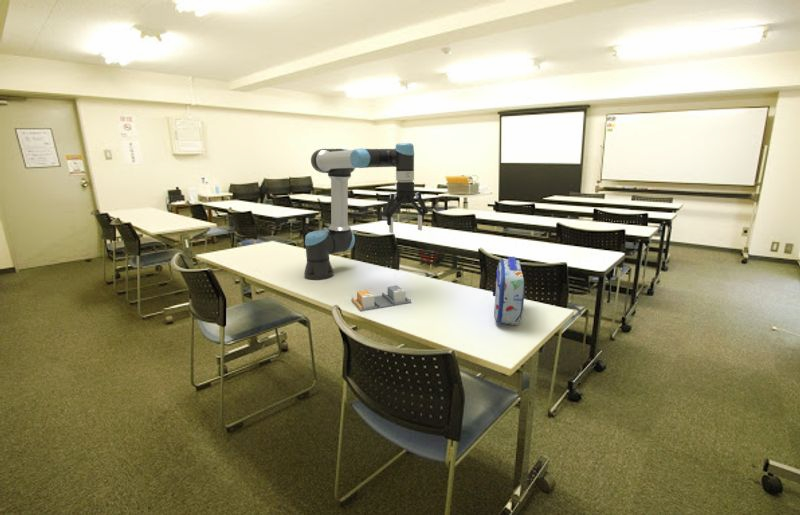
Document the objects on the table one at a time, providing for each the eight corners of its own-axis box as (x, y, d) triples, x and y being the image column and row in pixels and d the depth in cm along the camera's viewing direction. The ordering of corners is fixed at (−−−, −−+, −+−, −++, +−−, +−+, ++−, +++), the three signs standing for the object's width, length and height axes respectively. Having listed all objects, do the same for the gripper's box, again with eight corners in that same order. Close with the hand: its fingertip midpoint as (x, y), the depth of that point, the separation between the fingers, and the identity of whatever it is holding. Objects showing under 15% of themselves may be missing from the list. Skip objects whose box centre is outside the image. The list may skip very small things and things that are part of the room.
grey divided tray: (351, 301, 167) (351, 297, 166) (399, 293, 175) (399, 290, 175) (360, 311, 155) (360, 307, 155) (411, 302, 164) (411, 299, 163)
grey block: (387, 296, 171) (387, 285, 169) (397, 294, 172) (397, 283, 171) (395, 303, 163) (395, 291, 161) (405, 301, 164) (405, 289, 163)
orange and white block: (357, 301, 165) (356, 289, 164) (367, 299, 167) (367, 288, 166) (363, 308, 157) (363, 296, 156) (374, 306, 159) (374, 294, 158)
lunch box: (492, 302, 163) (494, 251, 158) (517, 303, 161) (520, 252, 156) (494, 329, 137) (497, 270, 132) (524, 331, 135) (528, 271, 130)
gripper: (380, 183, 154) (381, 235, 159) (435, 180, 164) (435, 230, 169) (374, 182, 161) (375, 232, 166) (427, 180, 170) (427, 227, 176)
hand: (405, 231), depth 167 cm, fingers open, 13 cm apart
